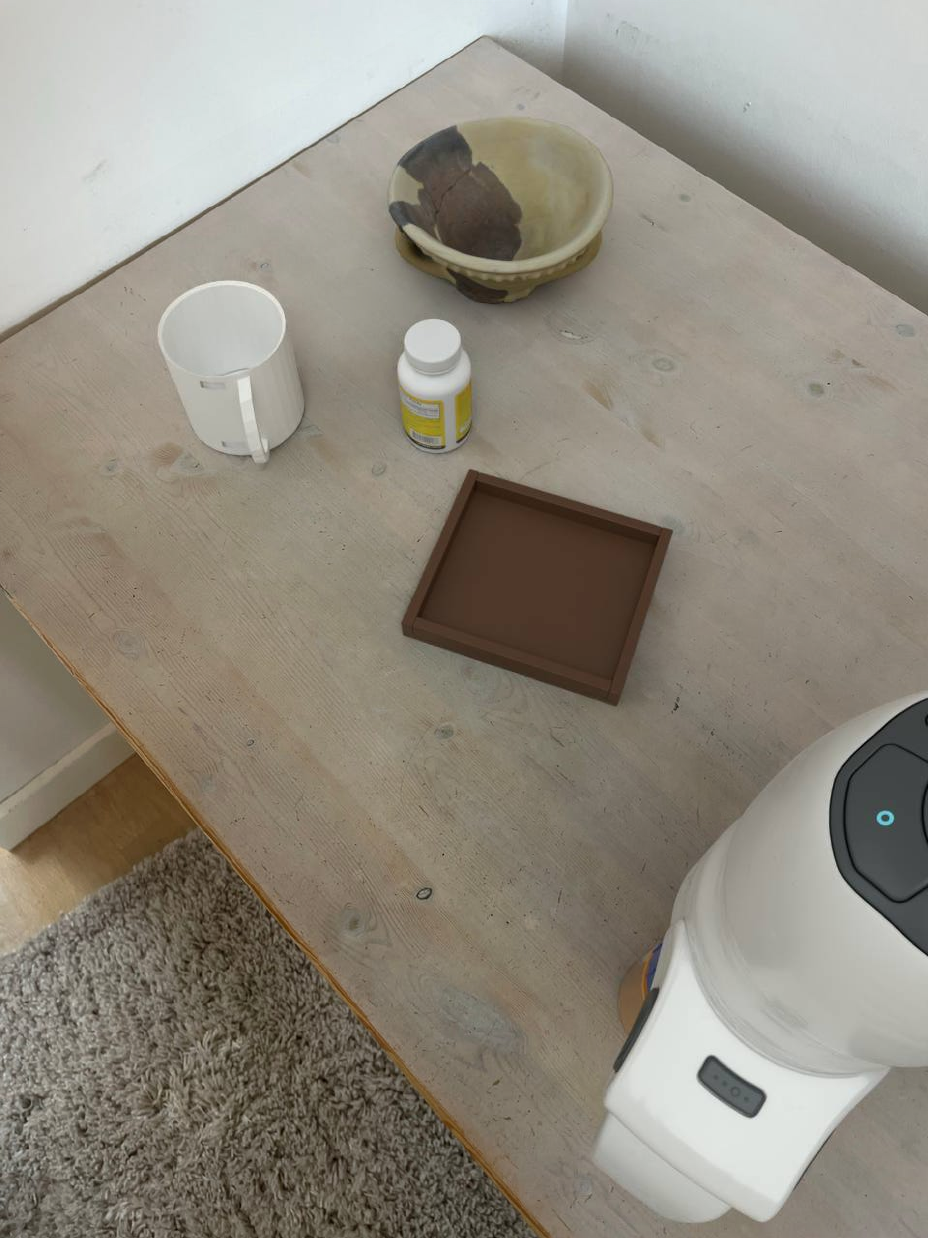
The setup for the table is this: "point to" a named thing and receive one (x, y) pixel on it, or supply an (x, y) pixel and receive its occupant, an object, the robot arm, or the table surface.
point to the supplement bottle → (435, 387)
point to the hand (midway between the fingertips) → (715, 984)
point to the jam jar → (633, 992)
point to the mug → (233, 367)
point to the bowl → (501, 205)
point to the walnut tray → (539, 586)
